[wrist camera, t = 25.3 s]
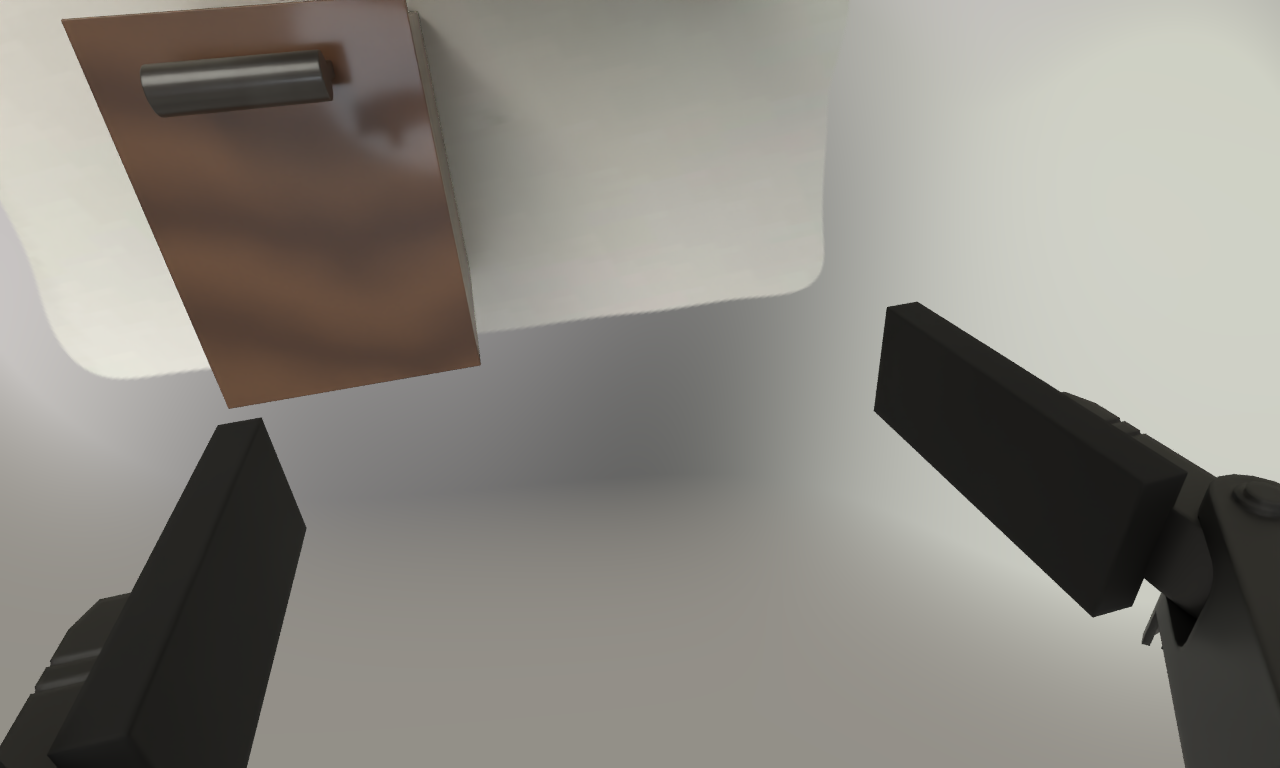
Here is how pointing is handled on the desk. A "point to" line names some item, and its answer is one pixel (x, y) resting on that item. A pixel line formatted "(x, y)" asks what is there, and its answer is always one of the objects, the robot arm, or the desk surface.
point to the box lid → (289, 188)
